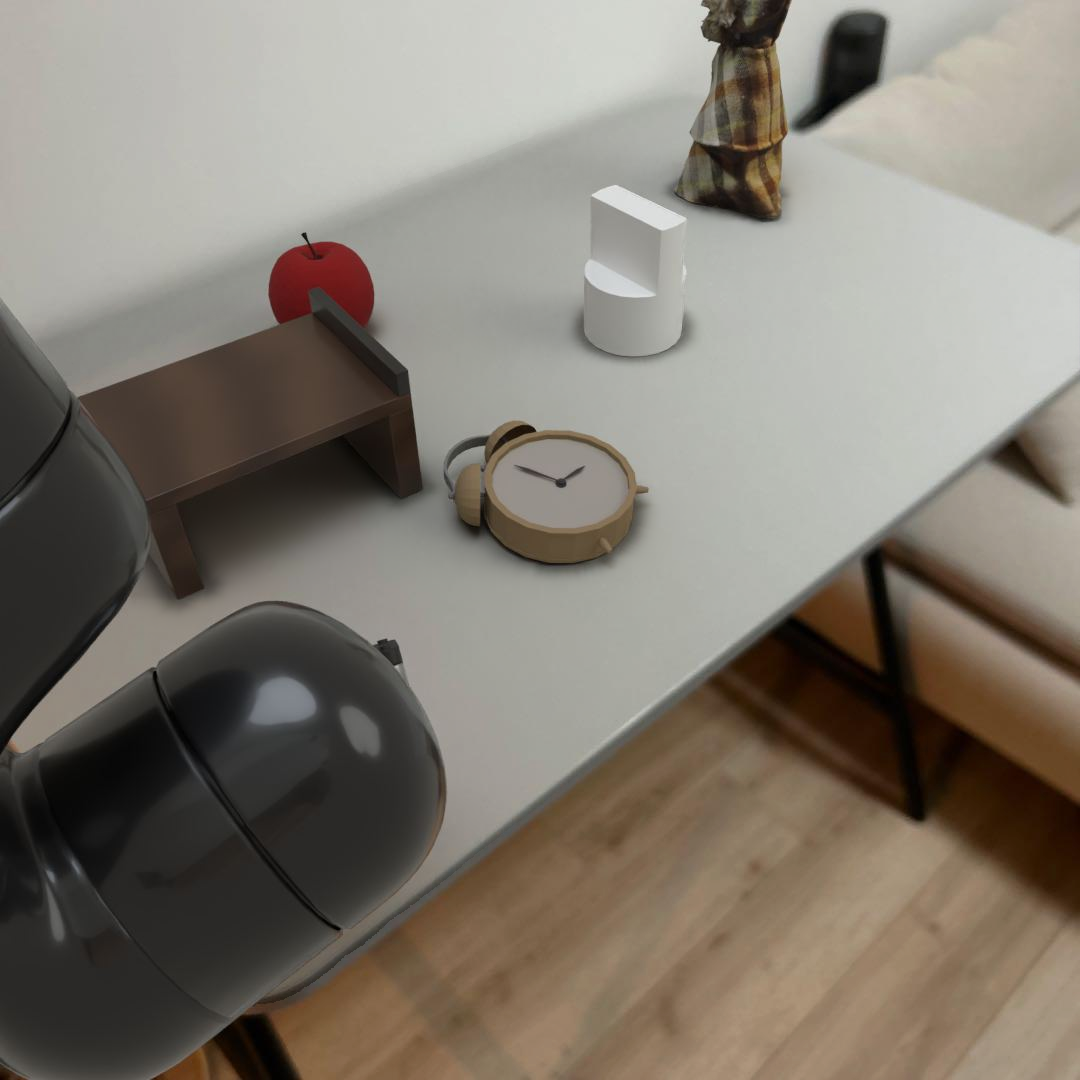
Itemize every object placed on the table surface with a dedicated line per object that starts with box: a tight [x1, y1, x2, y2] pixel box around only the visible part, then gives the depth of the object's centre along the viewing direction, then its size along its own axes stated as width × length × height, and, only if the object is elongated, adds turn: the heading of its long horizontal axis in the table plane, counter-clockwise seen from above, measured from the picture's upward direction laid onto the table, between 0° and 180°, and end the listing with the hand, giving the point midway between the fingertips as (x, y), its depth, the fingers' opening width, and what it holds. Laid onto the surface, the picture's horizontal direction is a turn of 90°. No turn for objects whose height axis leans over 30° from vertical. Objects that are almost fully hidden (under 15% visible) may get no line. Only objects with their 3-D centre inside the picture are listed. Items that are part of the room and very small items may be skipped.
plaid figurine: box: [673, 0, 793, 219], centre depth 111 cm, size 14×14×25 cm
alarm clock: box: [442, 420, 649, 564], centre depth 81 cm, size 11×5×15 cm
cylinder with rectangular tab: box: [583, 184, 688, 357], centre depth 96 cm, size 9×9×12 cm
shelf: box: [76, 287, 424, 600], centre depth 80 cm, size 20×14×11 cm
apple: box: [268, 231, 375, 329], centre depth 97 cm, size 9×9×10 cm
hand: (255, 696), depth 55 cm, fingers open, 8 cm apart
